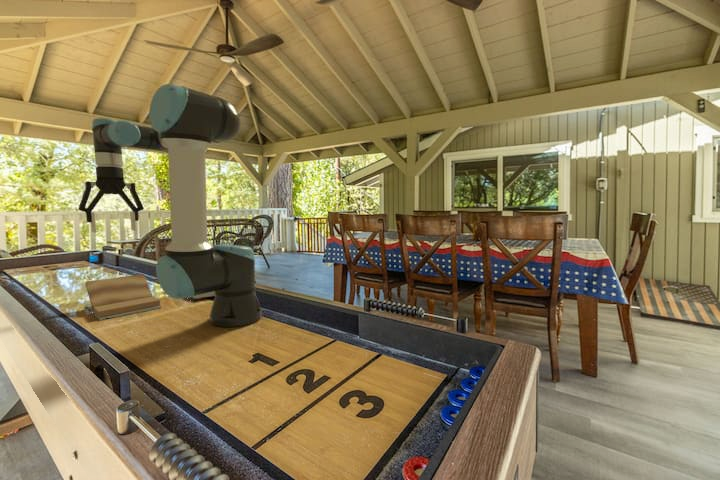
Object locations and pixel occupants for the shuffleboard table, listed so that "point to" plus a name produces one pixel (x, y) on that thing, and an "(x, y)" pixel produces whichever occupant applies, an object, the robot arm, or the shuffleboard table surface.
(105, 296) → the wavy wooden board
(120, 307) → the wooden card stand
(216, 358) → the shuffleboard table surface
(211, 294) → the stone slab
